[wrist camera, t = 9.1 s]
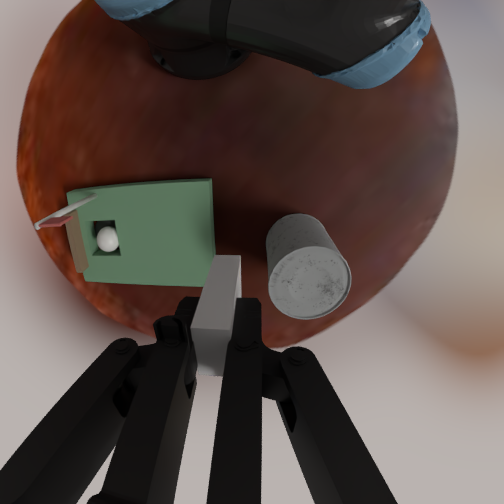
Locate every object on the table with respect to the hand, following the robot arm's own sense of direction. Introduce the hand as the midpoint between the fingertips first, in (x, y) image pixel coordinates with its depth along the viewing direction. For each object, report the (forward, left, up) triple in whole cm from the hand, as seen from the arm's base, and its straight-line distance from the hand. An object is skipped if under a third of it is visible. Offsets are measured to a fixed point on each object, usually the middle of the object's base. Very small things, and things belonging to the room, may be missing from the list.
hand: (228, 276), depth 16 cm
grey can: (+8, +8, -25) cm, 27 cm away
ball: (+6, -22, -22) cm, 32 cm away
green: (+6, -17, -24) cm, 30 cm away
